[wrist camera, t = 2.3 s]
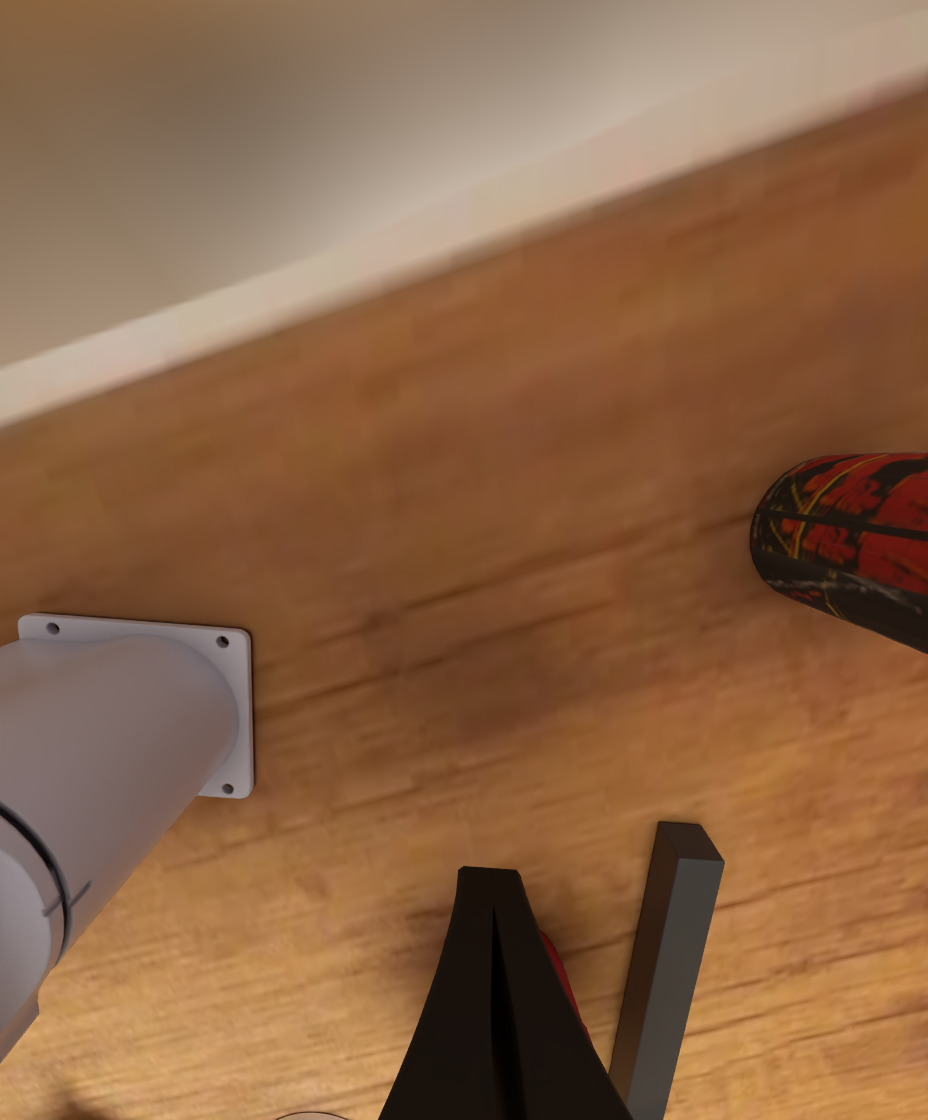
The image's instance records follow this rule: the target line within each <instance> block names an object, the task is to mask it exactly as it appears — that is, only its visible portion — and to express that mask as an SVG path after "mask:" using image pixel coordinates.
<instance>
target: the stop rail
mask: <svg viewBox="0 0 928 1120" xmlns="http://www.w3.org/2000/svg"><path fill="white" fill-rule="evenodd" d="M724 864H725V862H724V860H723V858H722V857H721V855H720V854H719V852H718V850H717V849H716V847H715V846H714V844H713V843H712V841H711V840H710V838H709V837H708V835H707V833H706V832H705V830H704V829H703V827H702V826H701V825H691V824H678V823H665V822H660V823H659V826H658V831H657V836H656V841H655V846H654V851H653V857H652V862H651V867H650V872H649V877H648V882H647V887H646V892H645V897H644V902H643V907H642V912H641V917H640V922H639V927H638V932H637V937H636V942H635V947H634V952H633V957H632V962H631V967H630V972H629V977H628V982H627V987H626V992H625V997H624V1002H623V1007H622V1012H621V1017H620V1022H619V1027H618V1032H617V1037H616V1042H615V1047H614V1052H613V1057H612V1062H611V1067H610V1072H609V1077H610V1079H611V1081H612V1082H613V1084H614V1086H615V1088H616V1089H617V1091H618V1093H619V1095H620V1097H621V1098H622V1100H623V1102H624V1104H625V1105H626V1107H627V1109H628V1110H629V1112H630V1114H631V1116H632V1117H633V1119H634V1120H663V1118H664V1114H665V1110H666V1106H667V1102H668V1097H669V1093H670V1089H671V1085H672V1081H673V1077H674V1072H675V1068H676V1064H677V1060H678V1056H679V1052H680V1047H681V1043H682V1039H683V1035H684V1031H685V1027H686V1022H687V1018H688V1014H689V1010H690V1006H691V1002H692V997H693V993H694V989H695V985H696V981H697V977H698V973H699V968H700V964H701V960H702V956H703V952H704V948H705V943H706V939H707V935H708V931H709V927H710V923H711V918H712V914H713V910H714V906H715V902H716V898H717V893H718V889H719V885H720V881H721V877H722V873H723V868H724Z"/></svg>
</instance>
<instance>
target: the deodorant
mask: <svg viewBox="0 0 928 1120" xmlns="http://www.w3.org/2000/svg"><path fill="white" fill-rule="evenodd" d="M750 547H751V552H752V556H753V561H754V564H755V566H756V568H757V569H758V571H759V573H760V575H761V577H762V578H763V580H765V581H766V582H767V583H768V584H769V585H770V586H771V587H772V588H773V589H774V590H775V591H777V592H779V593H781V594H783V595H785V596H787V597H789V598H791V599H793V600H796V601H798V602H801V603H803V604H806V605H808V606H811V607H813V608H815V609H818V610H820V611H823V612H825V613H828V614H830V615H833V616H835V617H838V618H840V619H842V620H845V621H847V622H850V623H852V624H855V625H857V626H860V627H862V628H865V629H867V630H869V631H872V632H874V633H877V634H879V635H882V636H884V637H887V638H889V639H892V640H894V641H896V642H899V643H901V644H904V645H906V646H909V647H911V648H914V649H916V650H919V651H921V652H923V653H926V654H928V452H908V453H878V454H848V455H832V456H821V457H818V458H815V459H812V460H809V461H806V462H804V463H801V464H800V465H798V466H796V467H795V468H793V469H792V470H790V471H788V472H787V473H785V474H784V475H783V476H782V477H781V478H780V479H779V480H778V481H777V482H776V483H775V484H774V485H773V486H772V487H771V488H770V489H769V490H768V491H767V493H766V495H765V496H764V498H763V500H762V501H761V503H760V504H759V506H758V508H757V511H756V514H755V517H754V520H753V523H752V526H751V540H750Z"/></svg>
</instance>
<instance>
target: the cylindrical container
mask: <svg viewBox="0 0 928 1120" xmlns="http://www.w3.org/2000/svg"><path fill="white" fill-rule="evenodd" d="M279 1120H344V1119H342V1118H339V1117H337V1116H332V1115H328V1114H322V1113H299V1114H294V1115H290V1116H286V1117H284V1118H281V1119H279Z"/></svg>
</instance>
